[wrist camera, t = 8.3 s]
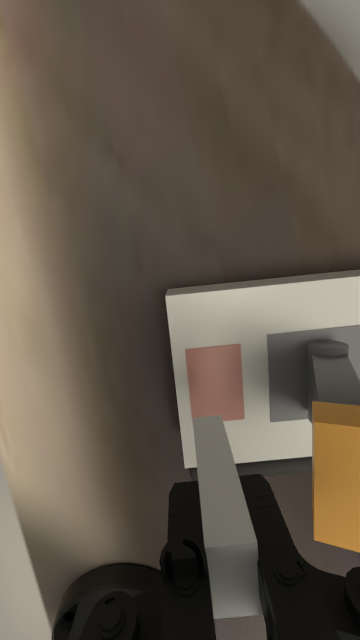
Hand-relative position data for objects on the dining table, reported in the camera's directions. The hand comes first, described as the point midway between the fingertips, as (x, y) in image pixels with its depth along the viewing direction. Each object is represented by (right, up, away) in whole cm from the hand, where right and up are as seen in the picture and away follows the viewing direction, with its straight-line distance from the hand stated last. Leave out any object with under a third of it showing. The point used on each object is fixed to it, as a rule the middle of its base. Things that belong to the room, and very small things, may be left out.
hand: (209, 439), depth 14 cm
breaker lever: (+9, +2, +6) cm, 11 cm away
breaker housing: (+9, +3, +11) cm, 15 cm away
